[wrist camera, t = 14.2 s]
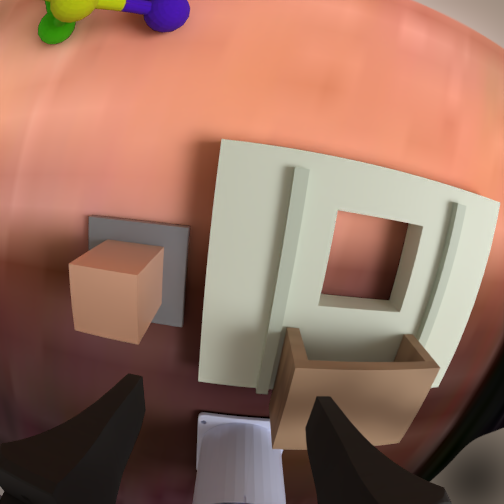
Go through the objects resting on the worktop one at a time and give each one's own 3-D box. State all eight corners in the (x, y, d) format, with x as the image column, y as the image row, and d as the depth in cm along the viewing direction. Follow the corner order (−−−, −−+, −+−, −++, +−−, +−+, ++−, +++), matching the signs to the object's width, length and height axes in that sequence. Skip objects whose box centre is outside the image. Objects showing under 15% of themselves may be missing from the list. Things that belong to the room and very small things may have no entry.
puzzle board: (428, 374, 23) (441, 390, 21) (201, 365, 23) (197, 386, 20) (484, 198, 19) (505, 204, 17) (224, 141, 18) (220, 138, 16)
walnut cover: (381, 406, 22) (399, 442, 18) (268, 406, 21) (272, 449, 17) (412, 334, 20) (440, 367, 16) (286, 327, 19) (295, 367, 15)
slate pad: (183, 323, 22) (182, 327, 21) (95, 307, 21) (91, 310, 21) (190, 226, 20) (188, 228, 19) (92, 215, 19) (88, 216, 19)
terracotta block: (161, 303, 20) (138, 344, 15) (108, 294, 20) (74, 330, 15) (164, 246, 19) (137, 275, 14) (107, 239, 19) (68, 263, 14)
